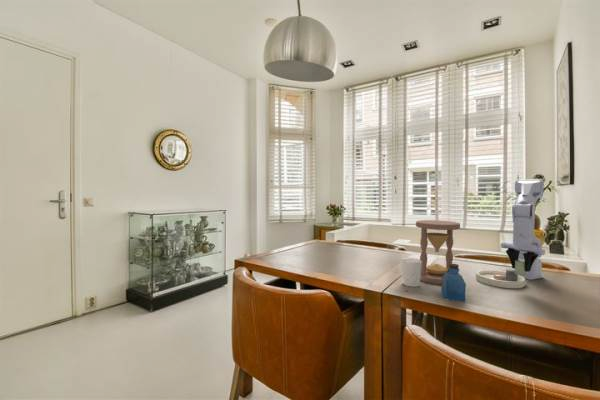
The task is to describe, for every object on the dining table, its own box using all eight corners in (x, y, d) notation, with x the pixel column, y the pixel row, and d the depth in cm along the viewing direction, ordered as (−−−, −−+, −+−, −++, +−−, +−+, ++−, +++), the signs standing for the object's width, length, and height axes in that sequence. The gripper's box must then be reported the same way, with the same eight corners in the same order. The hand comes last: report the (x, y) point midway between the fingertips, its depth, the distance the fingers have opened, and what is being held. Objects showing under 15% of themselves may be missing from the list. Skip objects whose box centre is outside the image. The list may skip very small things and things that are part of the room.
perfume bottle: (465, 301, 103) (466, 267, 103) (446, 299, 105) (447, 266, 104) (459, 294, 109) (460, 263, 109) (441, 293, 111) (442, 262, 110)
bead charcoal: (509, 280, 123) (510, 268, 123) (519, 283, 119) (520, 271, 119) (503, 281, 122) (503, 269, 121) (513, 284, 118) (513, 272, 118)
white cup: (421, 282, 123) (422, 259, 123) (420, 288, 116) (421, 263, 116) (402, 280, 127) (402, 257, 126) (400, 285, 119) (400, 261, 119)
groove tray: (493, 273, 136) (493, 268, 136) (534, 285, 120) (534, 279, 120) (467, 277, 130) (467, 272, 130) (506, 290, 114) (506, 284, 114)
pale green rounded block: (518, 272, 116) (519, 259, 115) (529, 274, 112) (530, 261, 112) (512, 273, 114) (512, 260, 114) (523, 275, 110) (523, 262, 110)
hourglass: (445, 272, 138) (446, 220, 137) (467, 284, 120) (469, 224, 119) (408, 272, 138) (409, 220, 137) (425, 285, 120) (426, 224, 119)
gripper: (496, 232, 118) (495, 266, 118) (536, 238, 104) (535, 276, 105) (507, 231, 120) (506, 264, 121) (548, 237, 107) (547, 273, 107)
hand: (521, 269), depth 113 cm, fingers closed on pale green rounded block, 4 cm apart
